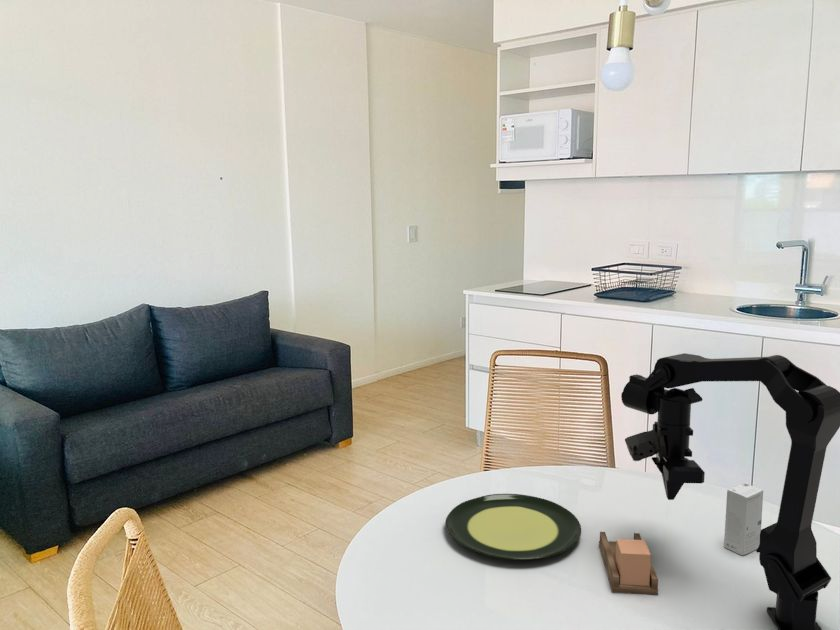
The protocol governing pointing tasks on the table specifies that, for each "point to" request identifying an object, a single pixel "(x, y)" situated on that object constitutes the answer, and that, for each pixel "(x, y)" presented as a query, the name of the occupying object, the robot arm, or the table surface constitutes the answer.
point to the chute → (609, 561)
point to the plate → (513, 526)
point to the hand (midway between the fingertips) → (670, 499)
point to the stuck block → (633, 562)
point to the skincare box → (743, 519)
